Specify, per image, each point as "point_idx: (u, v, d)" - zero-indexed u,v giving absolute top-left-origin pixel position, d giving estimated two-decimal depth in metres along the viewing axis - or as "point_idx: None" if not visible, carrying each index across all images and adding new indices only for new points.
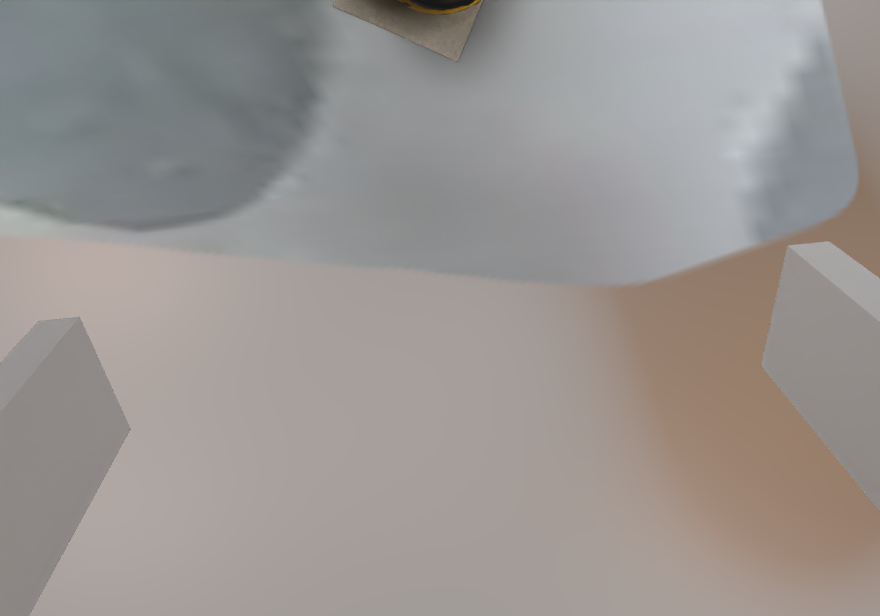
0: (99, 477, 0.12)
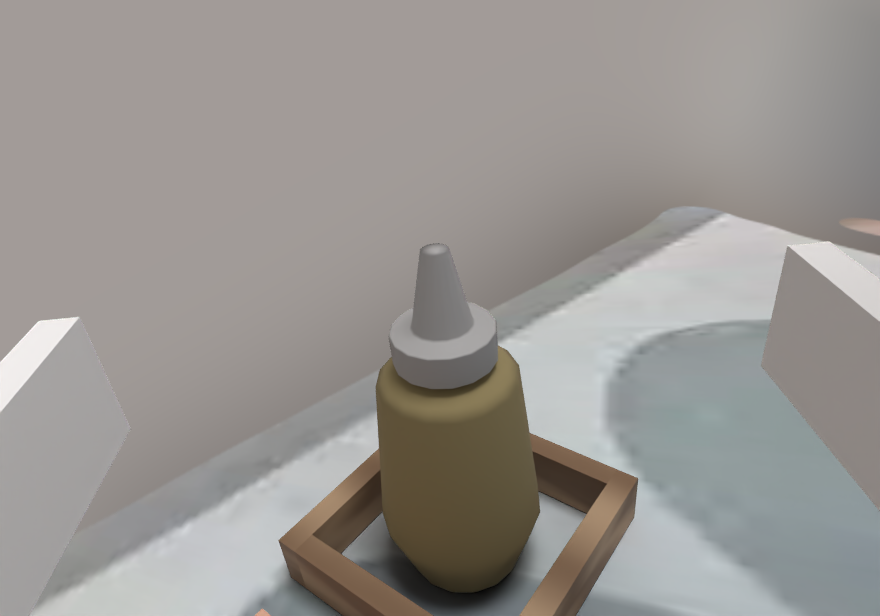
0: (99, 477, 0.12)
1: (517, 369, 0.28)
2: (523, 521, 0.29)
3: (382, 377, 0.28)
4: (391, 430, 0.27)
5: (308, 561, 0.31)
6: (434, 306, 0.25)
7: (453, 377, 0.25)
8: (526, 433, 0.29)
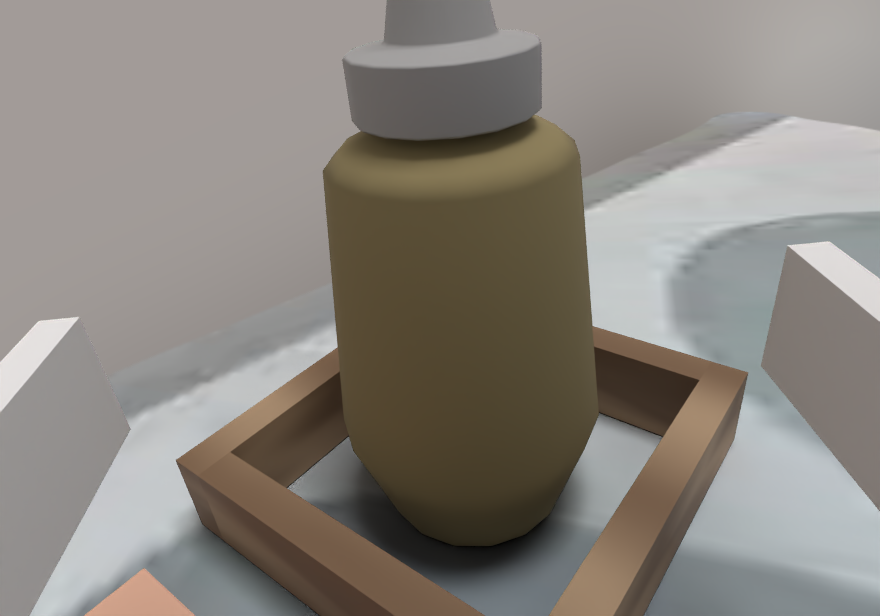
0: (99, 477, 0.12)
1: (573, 142, 0.16)
2: (577, 419, 0.17)
3: (335, 155, 0.16)
4: (348, 236, 0.15)
5: (218, 490, 0.19)
6: None
7: (461, 110, 0.13)
8: (586, 260, 0.16)
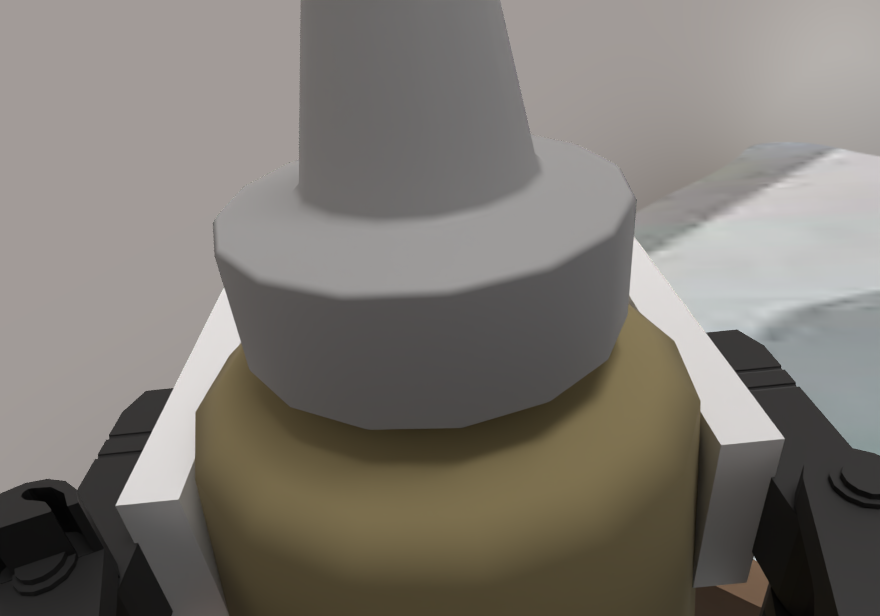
0: None
1: (676, 353, 0.08)
2: None
3: (219, 381, 0.08)
4: (233, 576, 0.07)
5: None
6: (376, 48, 0.05)
7: (464, 381, 0.06)
8: None
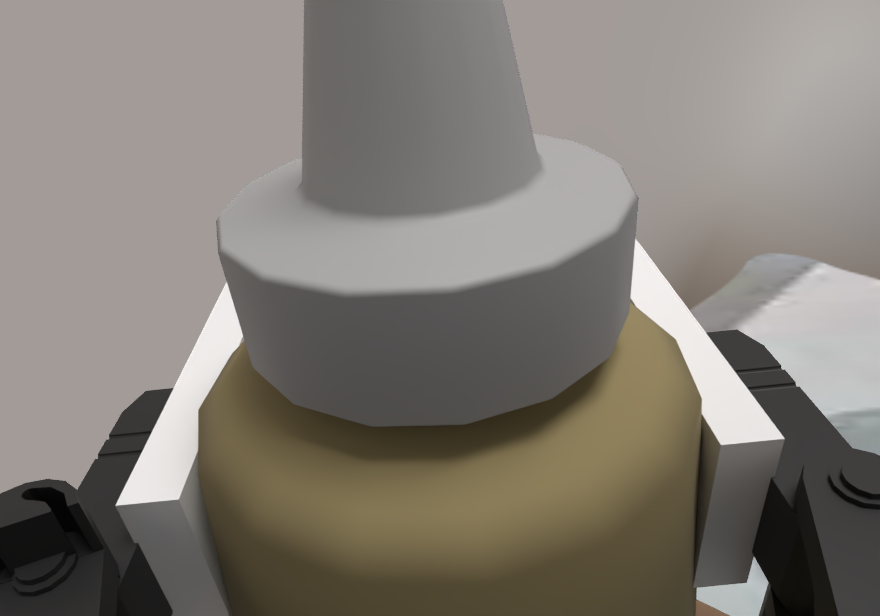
0: None
1: (677, 351, 0.08)
2: None
3: (222, 378, 0.08)
4: (236, 573, 0.07)
5: None
6: (380, 46, 0.05)
7: (469, 378, 0.06)
8: None
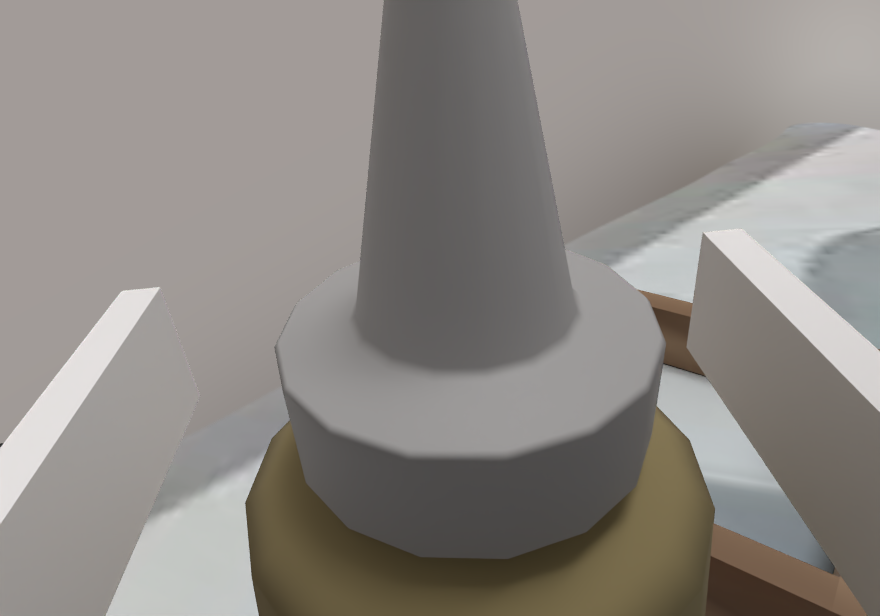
0: (178, 438, 0.12)
1: (691, 455, 0.09)
2: None
3: (268, 473, 0.09)
4: None
5: None
6: (443, 229, 0.06)
7: (513, 523, 0.06)
8: None
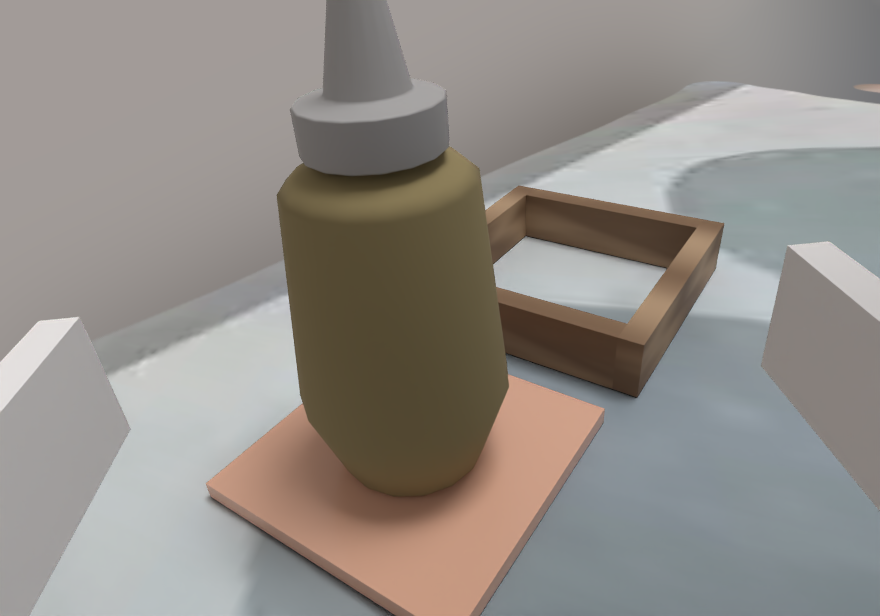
0: (99, 477, 0.12)
1: (477, 170, 0.20)
2: (486, 390, 0.22)
3: (286, 182, 0.20)
4: (298, 249, 0.19)
5: None
6: (352, 44, 0.17)
7: (382, 154, 0.17)
8: (490, 264, 0.21)
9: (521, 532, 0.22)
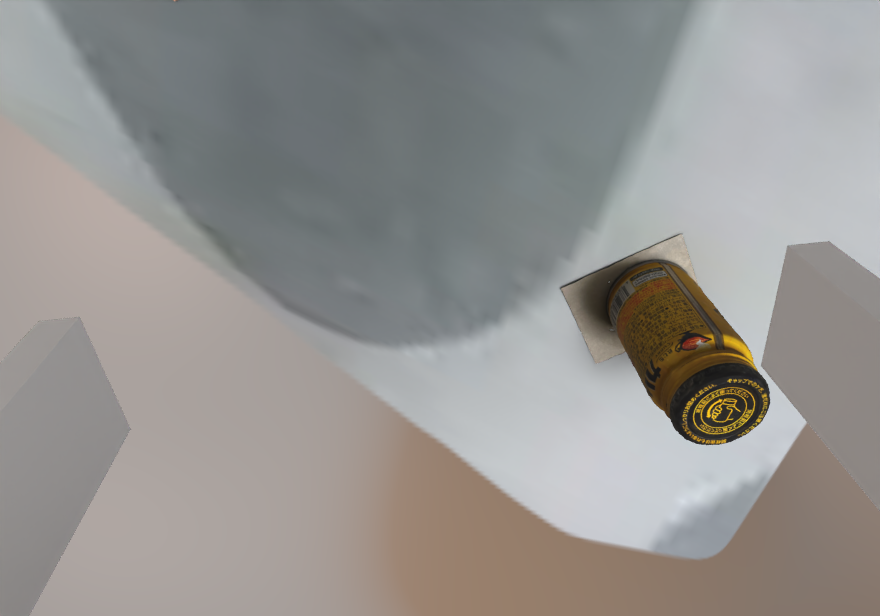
0: (99, 477, 0.12)
1: None
2: None
3: None
4: None
5: None
6: None
7: None
8: None
9: None
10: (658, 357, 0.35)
